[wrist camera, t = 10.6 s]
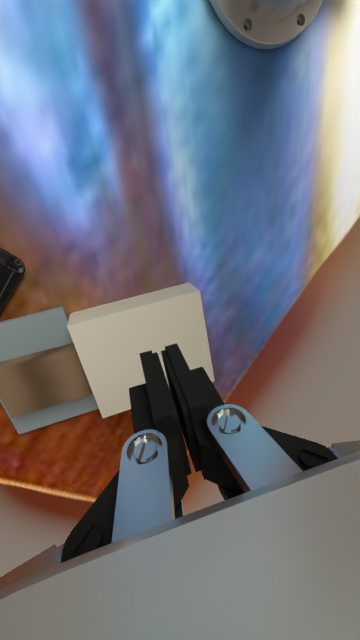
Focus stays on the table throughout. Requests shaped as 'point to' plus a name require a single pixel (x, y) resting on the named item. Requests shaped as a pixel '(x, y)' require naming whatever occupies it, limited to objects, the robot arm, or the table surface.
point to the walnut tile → (42, 380)
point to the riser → (137, 340)
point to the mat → (35, 337)
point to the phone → (9, 275)
